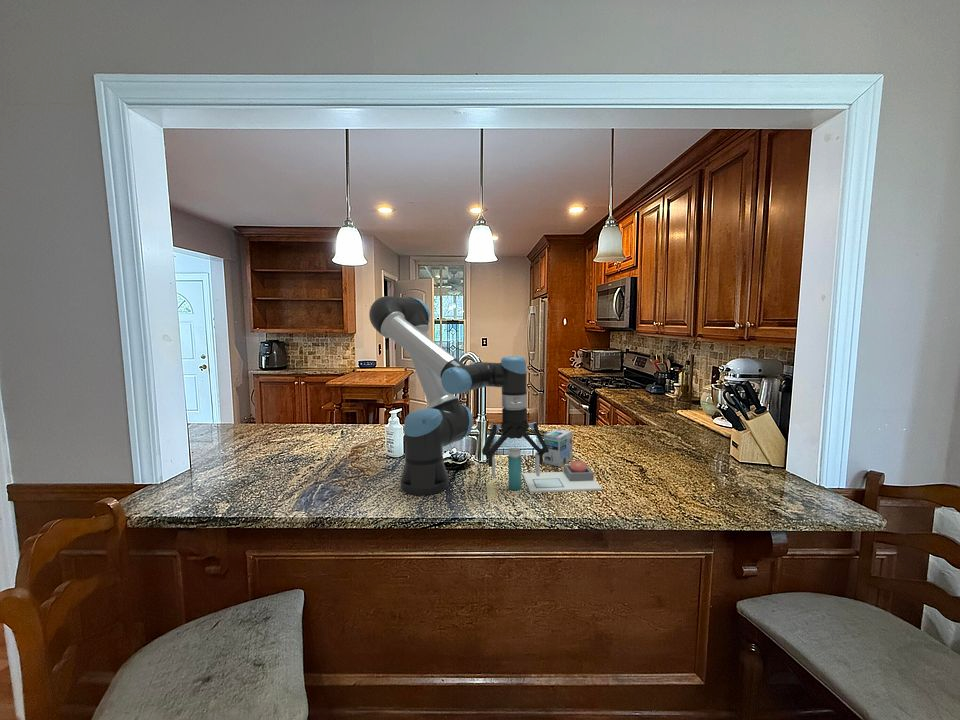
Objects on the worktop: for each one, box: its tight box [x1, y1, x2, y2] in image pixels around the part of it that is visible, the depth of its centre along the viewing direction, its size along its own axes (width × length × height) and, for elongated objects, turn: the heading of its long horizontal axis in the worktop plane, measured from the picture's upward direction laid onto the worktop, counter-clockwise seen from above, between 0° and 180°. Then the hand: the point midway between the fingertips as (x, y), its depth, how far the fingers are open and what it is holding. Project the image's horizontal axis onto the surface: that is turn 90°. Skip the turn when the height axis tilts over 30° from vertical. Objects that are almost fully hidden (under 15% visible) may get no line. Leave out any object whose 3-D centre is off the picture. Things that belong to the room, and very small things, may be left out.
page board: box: [522, 464, 603, 494], centre depth 126 cm, size 22×14×3 cm, turn 93°
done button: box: [569, 460, 587, 473], centre depth 129 cm, size 5×5×3 cm
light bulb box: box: [543, 428, 573, 468], centre depth 145 cm, size 11×7×11 cm, turn 143°
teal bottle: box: [507, 447, 522, 491], centre depth 122 cm, size 4×4×12 cm
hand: (515, 475), depth 122 cm, fingers open, 13 cm apart
